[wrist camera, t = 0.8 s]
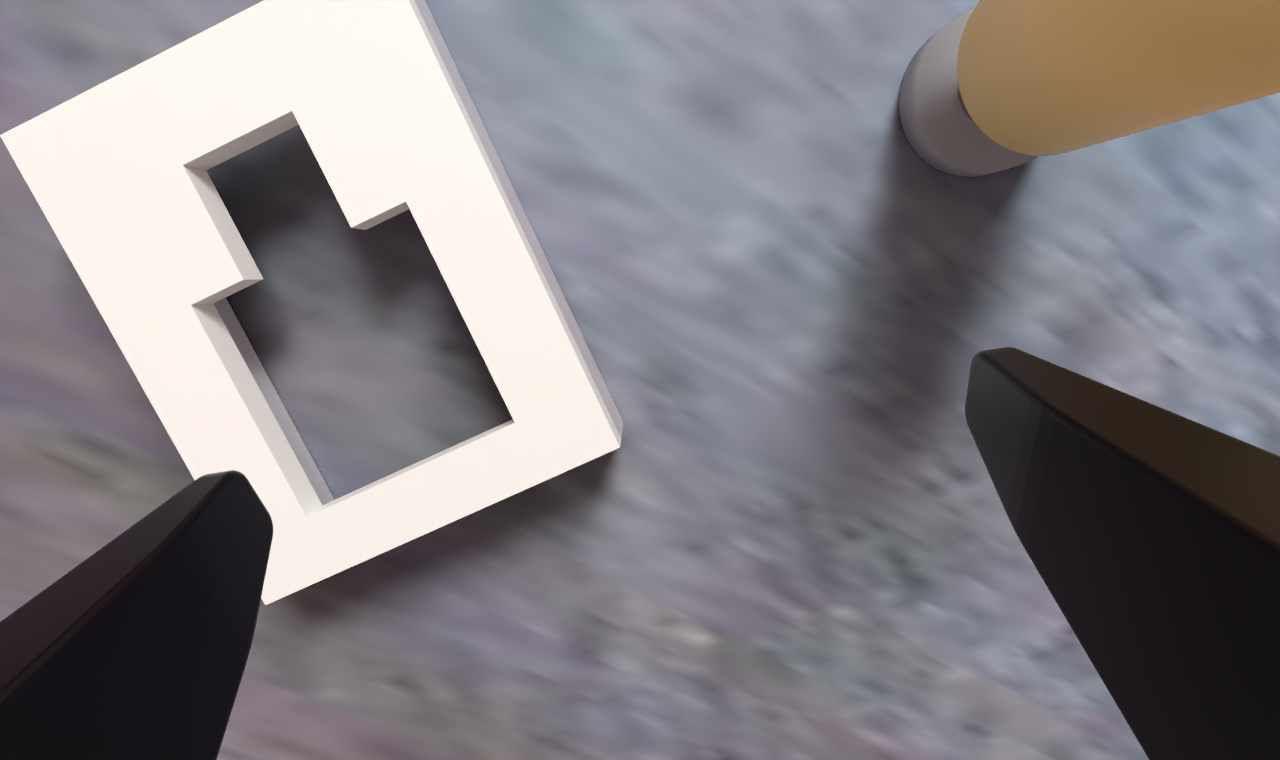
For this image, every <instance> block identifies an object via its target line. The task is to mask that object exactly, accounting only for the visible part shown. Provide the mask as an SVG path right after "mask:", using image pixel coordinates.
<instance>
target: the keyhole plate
mask: <svg viewBox="0 0 1280 760" xmlns="http://www.w3.org/2000/svg"><path fill="white" fill-rule="evenodd" d="M297 125H299V126H300V128H301V130H302V132H303V134H304V136H305V137H306V139H307V141H308V143H309V145H310V147H311V149H312V151H313V153H314V155H315V157H316V159H317V161H318V163H319V165H320V167H321V169H322V171H323V173H324V175H325V177H326V179H327V181H328V183H329V185H330V187H331V189H332V191H333V193H334V195H335V197H336V199H337V201H338V203H339V205H340V207H341V209H342V211H343V213H344V215H345V217H346V219H347V221H348V223H349V225H350V227H351V228H356V229H363V230H367V229H369V228H371V227H373V226H375V225H377V224H379V223H382V222H384V221H386V220H388V219H390V218H392V217H394V216H396V215H398V214H400V213H402V212H404V211H406V210H409V209H410V211H411V213H412V215H413V217H414V219H415V221H416V223H417V225H418V227H419V229H420V231H421V233H422V235H423V237H424V239H425V241H426V243H427V245H428V248H429V250H430V252H431V254H432V256H433V258H434V260H435V262H436V264H437V266H438V268H439V270H440V272H441V274H442V276H443V278H444V280H445V282H446V284H447V286H448V288H449V290H450V292H451V294H452V296H453V298H454V300H455V302H456V304H457V306H458V308H459V311H460V313H461V315H462V317H463V319H464V321H465V323H466V325H467V327H468V329H469V331H470V333H471V335H472V337H473V339H474V341H475V343H476V345H477V347H478V349H479V351H480V353H481V355H482V357H483V359H484V361H485V363H486V365H487V367H488V369H489V371H490V373H491V376H492V378H493V380H494V382H495V384H496V386H497V388H498V390H499V392H500V394H501V396H502V398H503V400H504V402H505V404H506V406H507V408H508V410H509V412H510V414H511V416H512V418H513V419H512V420H510V421H508V422H505V423H503V424H501V425H499V426H497V427H494V428H492V429H490V430H488V431H485V432H483V433H481V434H479V435H477V436H474V437H472V438H470V439H468V440H466V441H463V442H461V443H459V444H457V445H455V446H452V447H450V448H448V449H446V450H444V451H441V452H439V453H437V454H435V455H433V456H430V457H428V458H426V459H424V460H421V461H419V462H417V463H415V464H413V465H410V466H408V467H406V468H404V469H402V470H399V471H397V472H395V473H393V474H391V475H388V476H386V477H384V478H382V479H380V480H377V481H375V482H373V483H371V484H369V485H366V486H364V487H362V488H360V489H357V490H355V491H353V492H351V493H349V494H346V495H344V496H342V497H340V498H338V499H335V500H334V498H333V496H332V494H331V492H330V490H329V489H328V487H327V485H326V483H325V481H324V479H323V477H322V476H321V474H320V472H319V470H318V468H317V466H316V464H315V463H314V461H313V459H312V457H311V455H310V453H309V451H308V450H307V448H306V446H305V444H304V442H303V440H302V438H301V437H300V435H299V433H298V431H297V429H296V427H295V425H294V424H293V422H292V420H291V418H290V416H289V414H288V412H287V411H286V409H285V407H284V405H283V403H282V401H281V399H280V397H279V396H278V394H277V392H276V390H275V388H274V386H273V384H272V383H271V381H270V379H269V377H268V375H267V373H266V371H265V370H264V368H263V366H262V364H261V362H260V360H259V358H258V357H257V355H256V353H255V351H254V349H253V347H252V345H251V344H250V342H249V340H248V338H247V336H246V334H245V332H244V331H243V329H242V327H241V325H240V323H239V321H238V319H237V318H236V316H235V314H234V312H233V310H232V308H231V306H230V305H229V303H228V301H227V299H226V297H228V296H230V295H232V294H234V293H236V292H238V291H240V290H242V289H244V288H246V287H248V286H250V285H253V284H255V283H257V282H259V281H261V280H263V277H262V275H261V273H260V271H259V269H258V268H257V266H256V264H255V262H254V260H253V258H252V256H251V254H250V252H249V251H248V249H247V247H246V245H245V243H244V241H243V239H242V237H241V235H240V233H239V232H238V230H237V228H236V226H235V224H234V222H233V220H232V218H231V216H230V215H229V213H228V211H227V209H226V207H225V205H224V203H223V201H222V199H221V198H220V196H219V194H218V192H217V190H216V188H215V186H214V184H213V182H212V180H211V179H210V177H209V175H208V173H207V171H206V170H208V169H210V168H212V167H214V166H216V165H218V164H220V163H222V162H224V161H226V160H228V159H230V158H233V157H235V156H237V155H239V154H241V153H243V152H245V151H247V150H249V149H251V148H253V147H255V146H257V145H259V144H261V143H263V142H265V141H267V140H269V139H271V138H273V137H275V136H277V135H279V134H281V133H283V132H285V131H287V130H289V129H291V128H293V127H295V126H297ZM0 136H1V138H2V140H3V142H4V143H5V145H6V147H7V149H8V151H9V152H10V154H11V156H12V158H13V159H14V161H15V163H16V165H17V167H18V168H19V170H20V172H21V174H22V175H23V177H24V179H25V181H26V182H27V184H28V186H29V188H30V190H31V191H32V193H33V195H34V197H35V198H36V200H37V202H38V204H39V205H40V207H41V209H42V211H43V213H44V214H45V216H46V218H47V220H48V221H49V223H50V225H51V227H52V228H53V230H54V232H55V234H56V236H57V237H58V239H59V241H60V243H61V244H62V246H63V248H64V250H65V252H66V253H67V255H68V257H69V259H70V260H71V262H72V264H73V266H74V267H75V269H76V271H77V273H78V275H79V276H80V278H81V280H82V282H83V283H84V285H85V287H86V289H87V290H88V292H89V294H90V296H91V298H92V299H93V301H94V303H95V305H96V306H97V308H98V310H99V312H100V314H101V315H102V317H103V319H104V321H105V322H106V324H107V326H108V328H109V329H110V331H111V333H112V335H113V337H114V338H115V340H116V342H117V344H118V345H119V347H120V349H121V351H122V352H123V354H124V356H125V358H126V360H127V361H128V363H129V365H130V367H131V368H132V370H133V372H134V374H135V375H136V377H137V379H138V381H139V383H140V384H141V386H142V388H143V390H144V391H145V393H146V395H147V397H148V399H149V400H150V402H151V404H152V406H153V407H154V409H155V411H156V413H157V414H158V416H159V418H160V420H161V422H162V423H163V425H164V427H165V429H166V430H167V432H168V434H169V436H170V437H171V439H172V441H173V443H174V445H175V446H176V448H177V450H178V452H179V453H180V455H181V457H182V459H183V461H184V462H185V464H186V466H187V468H188V469H189V471H190V473H191V475H192V476H193V478H194V480H196V479H198V478H199V477H201V476H203V475H206V474H211V473H218V472H224V471H230V470H235V471H239V472H241V473H242V474H244V475H245V476H246V478H247V479H248V481H249V482H250V484H251V485H252V487H253V489H254V490H255V492H256V493H257V495H258V496H259V498H260V500H261V501H262V503H263V504H264V506H265V508H266V509H267V511H268V512H269V514H270V516H271V519H272V523H273V538H272V543H271V549H270V554H269V559H268V564H267V569H266V575H265V580H264V585H263V590H262V595H261V599H262V600H263V602H264V604H265V605H267V604H270V603H272V602H274V601H276V600H278V599H281V598H283V597H285V596H287V595H290V594H292V593H294V592H296V591H299V590H301V589H303V588H305V587H308V586H310V585H312V584H314V583H317V582H319V581H321V580H323V579H326V578H328V577H330V576H332V575H335V574H337V573H339V572H341V571H344V570H346V569H348V568H350V567H353V566H355V565H357V564H359V563H362V562H364V561H366V560H368V559H371V558H373V557H375V556H377V555H380V554H382V553H384V552H386V551H389V550H391V549H393V548H395V547H398V546H400V545H402V544H404V543H407V542H409V541H411V540H413V539H416V538H418V537H420V536H422V535H425V534H427V533H429V532H431V531H434V530H436V529H438V528H440V527H443V526H445V525H447V524H449V523H452V522H454V521H456V520H458V519H461V518H463V517H465V516H467V515H470V514H472V513H474V512H476V511H478V510H481V509H483V508H485V507H487V506H490V505H492V504H494V503H496V502H499V501H501V500H503V499H505V498H508V497H510V496H512V495H514V494H517V493H519V492H521V491H523V490H526V489H528V488H530V487H532V486H535V485H537V484H539V483H541V482H544V481H546V480H548V479H550V478H553V477H555V476H557V475H559V474H562V473H564V472H566V471H568V470H571V469H573V468H575V467H577V466H580V465H582V464H584V463H586V462H589V461H591V460H593V459H595V458H598V457H600V456H602V455H604V454H607V453H609V452H611V451H613V450H616V449H618V448H620V445H621V438H622V431H623V424H624V423H623V421H622V418H621V416H620V414H619V412H618V410H617V408H616V406H615V403H614V401H613V399H612V397H611V395H610V393H609V391H608V389H607V386H606V384H605V382H604V380H603V378H602V376H601V374H600V372H599V369H598V367H597V365H596V363H595V361H594V359H593V357H592V355H591V352H590V350H589V348H588V346H587V344H586V342H585V340H584V337H583V335H582V333H581V331H580V329H579V327H578V325H577V323H576V320H575V318H574V316H573V314H572V312H571V310H570V308H569V306H568V303H567V301H566V299H565V297H564V295H563V293H562V291H561V289H560V286H559V284H558V282H557V280H556V278H555V276H554V274H553V271H552V269H551V267H550V265H549V263H548V261H547V259H546V257H545V254H544V252H543V250H542V248H541V246H540V244H539V242H538V240H537V237H536V235H535V233H534V231H533V229H532V227H531V225H530V223H529V220H528V218H527V216H526V214H525V212H524V210H523V208H522V205H521V203H520V201H519V199H518V197H517V195H516V193H515V191H514V188H513V186H512V184H511V182H510V180H509V178H508V176H507V174H506V171H505V169H504V167H503V165H502V163H501V161H500V159H499V157H498V154H497V152H496V150H495V148H494V146H493V144H492V142H491V140H490V137H489V135H488V133H487V131H486V129H485V127H484V125H483V122H482V120H481V118H480V116H479V114H478V112H477V110H476V108H475V105H474V103H473V101H472V99H471V97H470V95H469V93H468V91H467V88H466V86H465V84H464V82H463V80H462V78H461V76H460V74H459V71H458V69H457V67H456V65H455V63H454V61H453V59H452V56H451V54H450V52H449V50H448V48H447V46H446V44H445V42H444V39H443V37H442V35H441V33H440V31H439V29H438V27H437V25H436V22H435V20H434V18H433V16H432V14H431V12H430V10H429V8H428V5H427V3H426V1H425V0H264V1H262V2H260V3H258V4H256V5H254V6H252V7H250V8H248V9H246V10H244V11H242V12H240V13H238V14H236V15H234V16H232V17H230V18H229V19H227V20H225V21H223V22H221V23H219V24H217V25H215V26H213V27H211V28H209V29H207V30H205V31H203V32H201V33H199V34H197V35H195V36H193V37H191V38H189V39H187V40H185V41H184V42H182V43H180V44H178V45H176V46H174V47H172V48H170V49H168V50H166V51H164V52H162V53H160V54H158V55H156V56H154V57H152V58H150V59H148V60H146V61H144V62H142V63H140V64H139V65H137V66H135V67H133V68H131V69H129V70H127V71H125V72H123V73H121V74H119V75H117V76H115V77H113V78H111V79H109V80H107V81H105V82H103V83H101V84H99V85H97V86H95V87H94V88H92V89H90V90H88V91H86V92H84V93H82V94H80V95H78V96H76V97H74V98H72V99H70V100H68V101H66V102H64V103H62V104H60V105H58V106H56V107H54V108H52V109H50V110H49V111H47V112H45V113H43V114H41V115H39V116H37V117H35V118H33V119H31V120H29V121H27V122H25V123H23V124H21V125H19V126H17V127H15V128H13V129H11V130H9V131H7V132H5V133H4V134H2V135H0Z"/></svg>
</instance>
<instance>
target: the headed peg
mask: <svg viewBox="0 0 1280 760" xmlns="http://www.w3.org/2000/svg"><path fill="white" fill-rule="evenodd" d="M1279 92H1280V0H981V1H980V2H979V3H978V4H977V6H976V7H974V8H972V9H969V10H968V11H966V12H964V13H962V14H960V15H959V16H958V17H956V18H955V19H954V20H952V21H951V22H950V23H948V24H947V25H946V26H945V27H944V28H942V29H941V30H940V31H939V32H937V33H936V34H935V35H934V36H933V37H931V38H930V39H929V40H928V41H927V42H926V43H925V44H924V45H923V46H922V47H921V48H920V49H919V50H918V51H917V53H916V54H915V55H914V57H913V59H912V60H911V62H910V63H909V65H908V67H907V69H906V72H905V74H904V77H903V80H902V83H901V88H900V94H899V114H900V120H901V125H902V128H903V131H904V134H905V136H906V138H907V140H908V142H909V143H910V145H911V147H912V148H913V150H914V151H915V152H916V153H917V154H918V155H919V157H921V158H922V159H923V160H924V161H925V162H926V163H928V164H929V165H931V166H932V167H934V168H935V169H937V170H939V171H942V172H944V173H947V174H950V175H954V176H960V177H977V176H983V175H988V174H992V173H995V172H999V171H1002V170H1006V169H1009V168H1013V167H1016V166H1019V165H1022V164H1024V163H1027V162H1029V161H1031V160H1032V159H1034V158H1036V157H1038V156H1048V155H1057V154H1061V153H1066V152H1070V151H1073V150H1077V149H1080V148H1084V147H1087V146H1091V145H1094V144H1098V143H1102V142H1105V141H1109V140H1112V139H1116V138H1119V137H1123V136H1126V135H1130V134H1133V133H1137V132H1141V131H1144V130H1148V129H1151V128H1155V127H1158V126H1162V125H1165V124H1169V123H1172V122H1176V121H1180V120H1183V119H1187V118H1190V117H1194V116H1197V115H1201V114H1204V113H1208V112H1211V111H1215V110H1219V109H1222V108H1226V107H1229V106H1233V105H1236V104H1240V103H1243V102H1247V101H1250V100H1254V99H1258V98H1261V97H1265V96H1268V95H1272V94H1275V93H1279Z"/></svg>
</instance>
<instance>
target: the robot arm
mask: <svg viewBox="0 0 1280 760" xmlns="http://www.w3.org/2000/svg"><path fill="white" fill-rule="evenodd" d="M965 415H966V420H967V424H968V426H969V429H970V431H971V434H972V436H973V438H974V440H975V443H976V445H977V447H978V449H979V452H980V454H981V456H982V459H983V461H984V463H985V465H986V468H987V470H988V472H989V474H990V477H991V479H992V481H993V484H994V486H995V488H996V490H997V493H998V495H999V497H1000V500H1001V502H1002V504H1003V506H1004V509H1005V511H1006V513H1007V515H1008V517H1009V520H1010V522H1011V524H1012V526H1013V528H1014V530H1015V532H1016V534H1017V536H1018V537H1019V539H1020V541H1021V543H1022V545H1023V546H1024V548H1025V550H1026V552H1027V553H1028V555H1029V557H1030V558H1031V560H1032V562H1033V563H1034V565H1035V567H1036V569H1037V570H1038V572H1039V574H1040V575H1041V577H1042V579H1043V580H1044V582H1045V584H1046V585H1047V587H1048V589H1049V591H1050V592H1051V594H1052V596H1053V597H1054V599H1055V601H1056V602H1057V604H1058V606H1059V608H1060V609H1061V611H1062V613H1063V614H1064V616H1065V618H1066V619H1067V621H1068V623H1069V624H1070V626H1071V628H1072V630H1073V631H1074V633H1075V635H1076V636H1077V638H1078V640H1079V641H1080V643H1081V645H1082V647H1083V648H1084V650H1085V652H1086V653H1087V655H1088V657H1089V658H1090V660H1091V662H1092V663H1093V665H1094V667H1095V669H1096V670H1097V672H1098V674H1099V675H1100V677H1101V679H1102V680H1103V682H1104V684H1105V685H1106V687H1107V689H1108V691H1109V692H1110V694H1111V696H1112V697H1113V699H1114V701H1115V702H1116V704H1117V706H1118V708H1119V709H1120V711H1121V713H1122V714H1123V716H1124V718H1125V719H1126V721H1127V723H1128V724H1129V726H1130V728H1131V730H1132V731H1133V733H1134V735H1135V736H1136V738H1137V740H1138V741H1139V743H1140V745H1141V746H1142V748H1143V750H1144V752H1145V753H1146V755H1147V757H1148V758H1149V760H1280V456H1278V455H1275V454H1273V453H1270V452H1268V451H1266V450H1263V449H1261V448H1258V447H1256V446H1253V445H1251V444H1248V443H1246V442H1244V441H1241V440H1239V439H1236V438H1234V437H1231V436H1229V435H1226V434H1224V433H1221V432H1219V431H1217V430H1214V429H1212V428H1209V427H1207V426H1204V425H1202V424H1199V423H1197V422H1195V421H1192V420H1190V419H1187V418H1185V417H1182V416H1180V415H1177V414H1175V413H1172V412H1170V411H1168V410H1165V409H1163V408H1160V407H1158V406H1155V405H1153V404H1150V403H1148V402H1146V401H1143V400H1141V399H1138V398H1136V397H1133V396H1131V395H1128V394H1126V393H1123V392H1121V391H1119V390H1116V389H1114V388H1111V387H1109V386H1106V385H1104V384H1101V383H1099V382H1097V381H1094V380H1092V379H1089V378H1087V377H1084V376H1082V375H1079V374H1077V373H1074V372H1072V371H1070V370H1067V369H1065V368H1062V367H1060V366H1057V365H1055V364H1052V363H1050V362H1048V361H1045V360H1043V359H1040V358H1038V357H1035V356H1033V355H1030V354H1028V353H1025V352H1023V351H1021V350H1018V349H1015V348H1012V347H1005V348H999V349H993V350H987V351H981V352H979V353H977V354H976V355H975V356H974V358H973V360H972V363H971V369H970V376H969V383H968V390H967V397H966V404H965ZM272 538H273V523H272V519H271V516H270V514H269V512H268V511H267V509H266V508H265V506H264V504H263V503H262V501H261V500H260V498H259V496H258V495H257V493H256V492H255V490H254V489H253V487H252V485H251V484H250V482H249V481H248V479H247V478H246V476H245V475H244V474H242V473H241V472H239V471H235V470H230V471H224V472H218V473H211V474H206V475H203V476H201V477H199V478H198V479H196V480H195V481H194V482H192V483H191V484H190V485H188V486H187V487H185V488H184V489H183V490H181V491H180V492H179V493H177V494H176V495H174V496H173V497H172V498H170V499H169V500H168V501H166V502H165V503H163V504H162V505H161V506H159V507H158V508H157V509H155V510H154V511H152V512H151V513H150V514H148V515H147V516H145V517H144V518H143V519H141V520H140V521H139V522H137V523H136V524H134V525H133V526H132V527H130V528H129V529H128V530H126V531H125V532H123V533H122V534H121V535H119V536H118V537H117V538H115V539H114V540H112V541H111V542H110V543H108V544H107V545H106V546H104V547H103V548H101V549H100V550H99V551H97V552H96V553H95V554H93V555H92V556H90V557H89V558H88V559H86V560H85V561H84V562H82V563H81V564H79V565H78V566H77V567H75V568H74V569H73V570H71V571H70V572H68V573H67V574H66V575H64V576H63V577H62V578H60V579H59V580H57V581H56V582H55V583H53V584H52V585H51V586H49V587H48V588H46V589H45V590H44V591H42V592H41V593H40V594H38V595H37V596H35V597H34V598H33V599H31V600H30V601H29V602H27V603H26V604H24V605H23V606H22V607H20V608H19V609H18V610H16V611H15V612H13V613H12V614H11V615H9V616H8V617H7V618H5V619H4V620H2V621H1V622H0V760H216V759H217V756H218V753H219V750H220V746H221V743H222V740H223V737H224V734H225V730H226V727H227V724H228V721H229V717H230V714H231V711H232V708H233V704H234V701H235V698H236V695H237V692H238V688H239V685H240V682H241V679H242V675H243V672H244V669H245V666H246V662H247V659H248V655H249V651H250V648H251V644H252V639H253V635H254V631H255V626H256V621H257V616H258V611H259V606H260V600H261V595H262V590H263V585H264V580H265V575H266V569H267V564H268V559H269V554H270V549H271V543H272Z"/></svg>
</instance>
